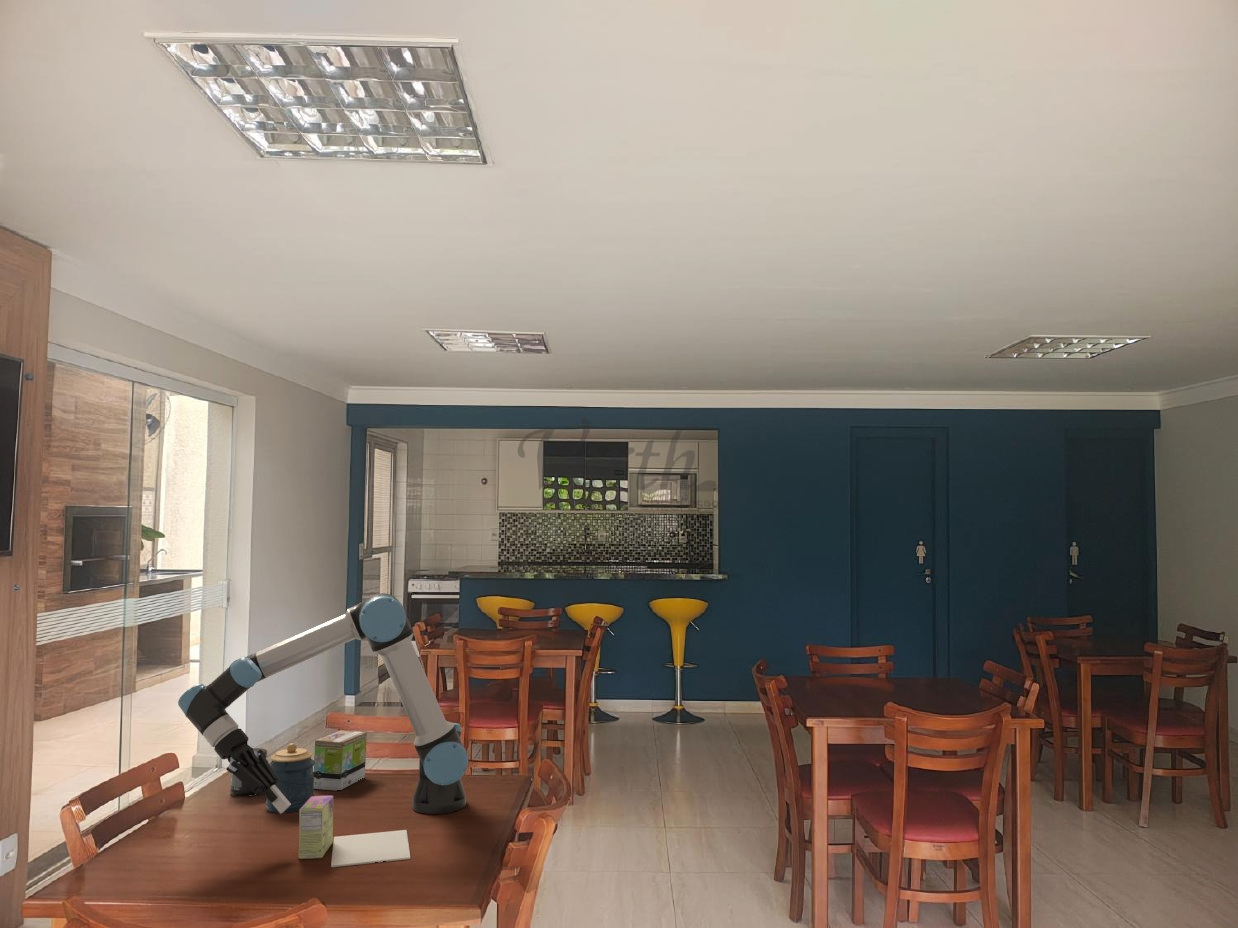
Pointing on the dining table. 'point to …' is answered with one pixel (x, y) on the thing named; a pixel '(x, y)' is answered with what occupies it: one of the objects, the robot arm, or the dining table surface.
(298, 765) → the canister
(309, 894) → the dining table surface
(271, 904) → the dining table surface
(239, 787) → the supplement container
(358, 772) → the tea box
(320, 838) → the box
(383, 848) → the mat
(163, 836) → the dining table surface
